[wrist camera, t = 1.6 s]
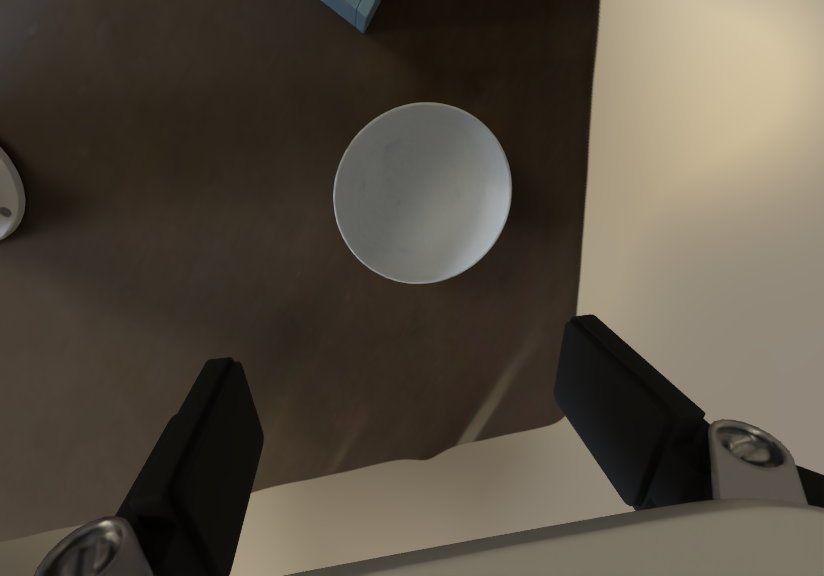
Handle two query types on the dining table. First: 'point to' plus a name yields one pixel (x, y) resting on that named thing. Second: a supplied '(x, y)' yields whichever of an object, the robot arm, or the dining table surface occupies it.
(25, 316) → the dining table surface
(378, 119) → the chinaware
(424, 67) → the dining table surface
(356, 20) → the bin
